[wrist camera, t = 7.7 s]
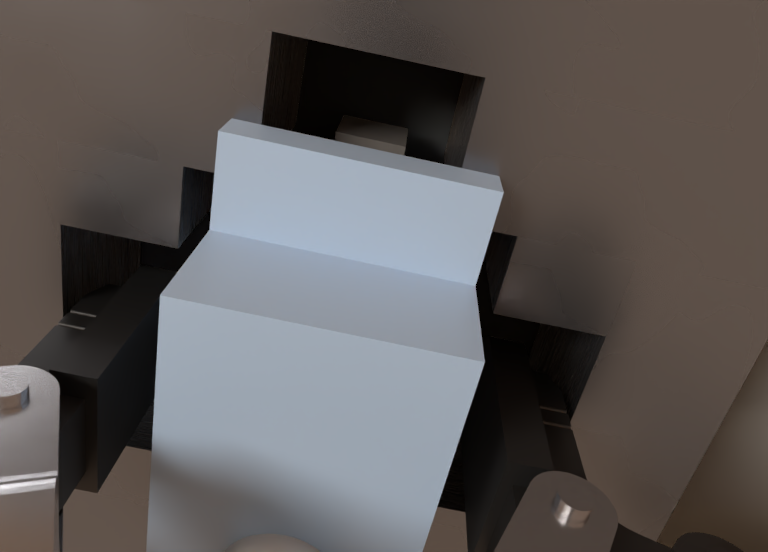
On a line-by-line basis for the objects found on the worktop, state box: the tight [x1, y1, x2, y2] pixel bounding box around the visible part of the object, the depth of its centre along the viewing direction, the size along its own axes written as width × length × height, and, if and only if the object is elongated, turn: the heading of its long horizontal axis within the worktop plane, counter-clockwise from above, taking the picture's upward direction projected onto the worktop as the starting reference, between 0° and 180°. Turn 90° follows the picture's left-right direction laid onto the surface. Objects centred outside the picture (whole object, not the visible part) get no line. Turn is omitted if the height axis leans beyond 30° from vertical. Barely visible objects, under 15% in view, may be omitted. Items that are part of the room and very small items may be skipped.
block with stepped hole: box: [0, 0, 768, 552], centre depth 13 cm, size 16×14×4 cm
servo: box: [146, 115, 504, 552], centre depth 12 cm, size 9×4×7 cm, turn 169°
